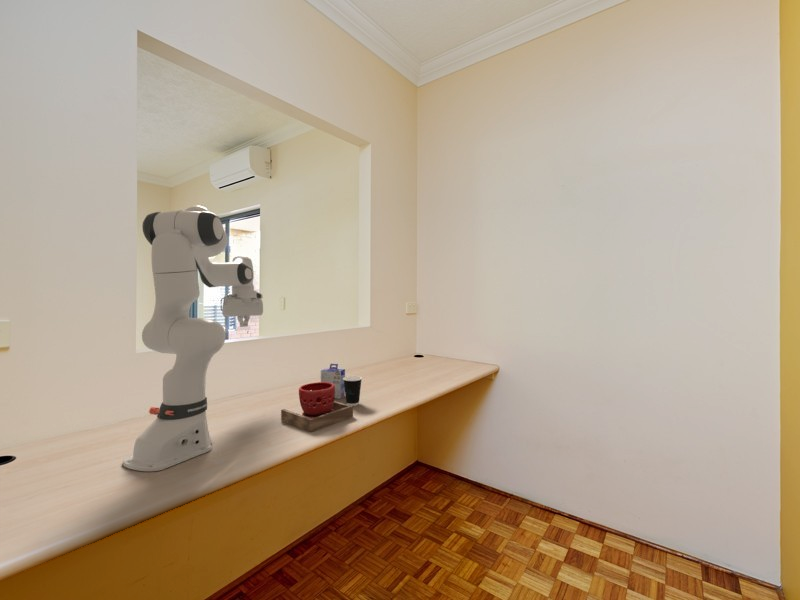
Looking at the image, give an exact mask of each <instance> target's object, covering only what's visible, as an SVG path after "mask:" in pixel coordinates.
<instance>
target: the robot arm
mask: <svg viewBox="0 0 800 600" xmlns="http://www.w3.org/2000/svg"><path fill="white" fill-rule="evenodd" d="M142 232H143V235H144V237H145V239H146V241H147V242H148V243H149V244H150V245H151V256H150V257H151V270H152V276H153V277H152V278H153V284H154V286H153V287H154V295H155V304H154V311H153V314H152V316H151V319H150V320H149V321H148V322H147V323H146V324H145V326H144V327H143V329H142V333H141V340H142V342H143V345H144V346H145V347H146V348H148V349H150V350H152V351H155V352H158V353H160V354H169V355H170V354H173V355H176V357H175V361H174V364H173V366H172V368H171V369H169V370H168V371H167V372H165V374H164V375H163V377H162V402H161V404H160V406H159V407H155V406H151V407H149V409H148V413H149V414H150V415H155V416H156V419H154V420H153V422H152V423H151V424H149V426H147V428H146V429H145V430H144V431H142V432H141V434H140V435H138V436H137V438H136V439H135V442H134V446H133V451H132V454H131V455H129V456H127V457H126V458H124V459H123V460H122V465H123V466H124V468H127V469H129V470H133V471H139V472H159V471H162V470H165V469H167V468H168V469H169V468H170V467H172V466H175V465H177V464H181V463H183V462H185V461H188V460H191V459H192V458H196V457H197V456H200V455H203V454H205V453H208V452H210V451H211V450H212V446H211V445H212V443H213V442H212V439H211V435H210V431H209V426H208V425H209V424H208V419H207V410H208V397H207V396H206V384H207V383H206V380H207V371H208V367H209V364H210V362H211V360H212V358H213V357H214V356H215V355H216V354H217V353H218V352H219V351H221V349H222V348H223V347H224V344H225V342H226V330H225V328H224V326H223V325H222V324H221V323H220V322H217V321H215V320H212V319H208V318H203V317H190V309H191V306H192V304H194V303H195V302H196V301H197V300H198V299H199V297H200V293H201V291H200V286H199V277H200V281H201V282H202V283H203V285H205V286H206V287H208V288H218V287H231V293H230V294H229V293H228V294H226V295H224V297H223V301H222V310H221V314H222V316H223V317H236V318H237V321H238V322H239V327H240V328H241V327H242V328H243V327H248V326H249V321H250V319H251V317H254V316H258V317H259V316H262V315H263V313H264V303H263V300H262V299H263V298H264V297H263V294H262V293H260V292H258V291H257V290H255V286H254V278H255V277H254V276H255V275H254V267H253V266H254V265H253V261H252V259H251V258H249V257H247V256H243V255H242V256H241V255H240V256H235V257H233V258H232V261H230V262H213V261H210V258H213V257H216V256H218V255H219V254H221V253H223V251H224V250H225V249H226V247H227V245H228V235H227V233H226V231H225V229H224V226H223V222H222V220H221V218H220V217H219V216H218V215H217V214H216V213H214V212H211V211H210V210H209V209H207V207H204V206H201V205H192V206H190V207H187V208H185V209H184V210H171V211H163V212H162V211H157V212H151V213H149V214H147V215H146V217H145V218H144V220H143V221H142ZM198 273H199V277H198Z"/></svg>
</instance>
